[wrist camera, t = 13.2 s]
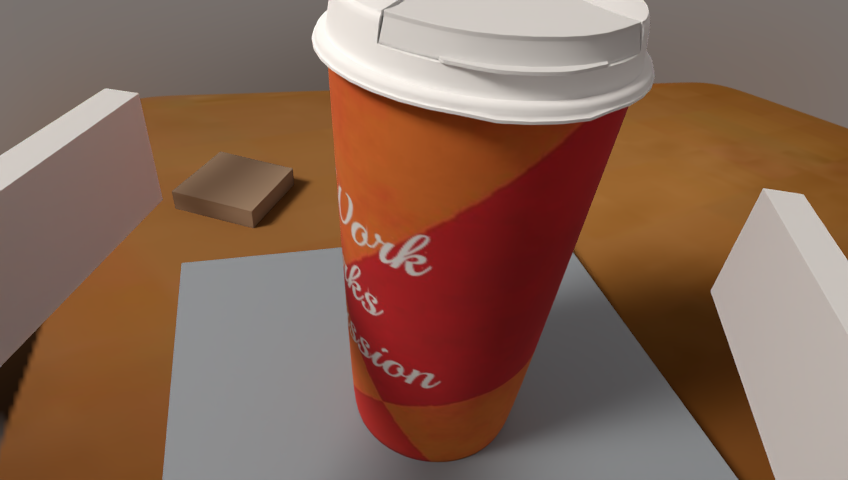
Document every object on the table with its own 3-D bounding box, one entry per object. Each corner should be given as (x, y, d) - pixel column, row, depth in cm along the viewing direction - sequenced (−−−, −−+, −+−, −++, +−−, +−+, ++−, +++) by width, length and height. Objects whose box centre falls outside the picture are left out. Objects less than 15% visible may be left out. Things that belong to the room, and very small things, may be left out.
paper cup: (324, 321, 23) (312, -65, 15) (508, 313, 25) (594, -48, 16) (324, 510, 17) (304, 41, 9) (569, 488, 19) (758, 56, 10)
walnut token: (294, 191, 33) (292, 168, 32) (254, 235, 30) (251, 211, 29) (223, 174, 34) (220, 151, 33) (177, 215, 31) (172, 191, 30)
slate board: (550, 242, 31) (554, 226, 30) (808, 613, 17) (825, 599, 16) (185, 280, 26) (181, 263, 26) (142, 828, 13) (132, 819, 12)
